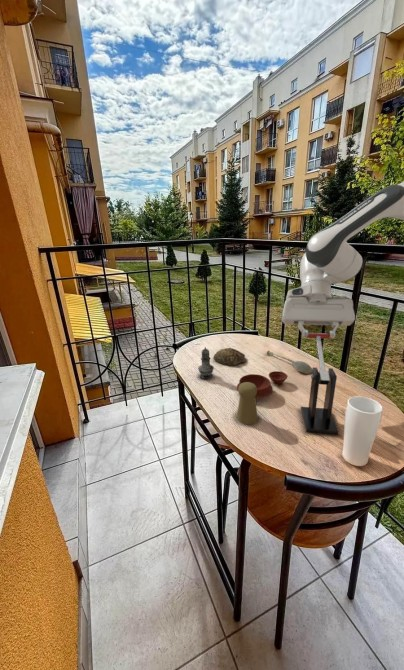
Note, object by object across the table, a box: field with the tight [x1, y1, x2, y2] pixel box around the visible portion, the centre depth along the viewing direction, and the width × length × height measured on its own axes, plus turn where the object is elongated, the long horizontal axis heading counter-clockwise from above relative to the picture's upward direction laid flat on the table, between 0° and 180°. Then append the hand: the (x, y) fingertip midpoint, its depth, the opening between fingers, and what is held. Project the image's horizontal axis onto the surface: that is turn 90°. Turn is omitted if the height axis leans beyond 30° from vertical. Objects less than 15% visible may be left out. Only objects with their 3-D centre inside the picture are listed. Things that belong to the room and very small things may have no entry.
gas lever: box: [306, 332, 330, 386], centre depth 78 cm, size 16×6×2 cm, turn 170°
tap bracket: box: [300, 367, 339, 436], centre depth 76 cm, size 10×8×16 cm
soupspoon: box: [266, 350, 313, 375], centre depth 113 cm, size 22×3×7 cm
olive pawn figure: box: [236, 382, 258, 425], centre depth 80 cm, size 6×6×11 cm
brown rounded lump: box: [213, 347, 246, 366], centre depth 118 cm, size 13×12×5 cm
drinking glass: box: [341, 395, 383, 467], centre depth 63 cm, size 7×7×15 cm
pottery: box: [236, 370, 288, 399], centre depth 95 cm, size 12×20×4 cm, turn 123°
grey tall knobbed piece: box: [197, 347, 215, 381], centre depth 103 cm, size 6×6×12 cm
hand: (318, 337), depth 81 cm, fingers closed on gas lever, 6 cm apart
